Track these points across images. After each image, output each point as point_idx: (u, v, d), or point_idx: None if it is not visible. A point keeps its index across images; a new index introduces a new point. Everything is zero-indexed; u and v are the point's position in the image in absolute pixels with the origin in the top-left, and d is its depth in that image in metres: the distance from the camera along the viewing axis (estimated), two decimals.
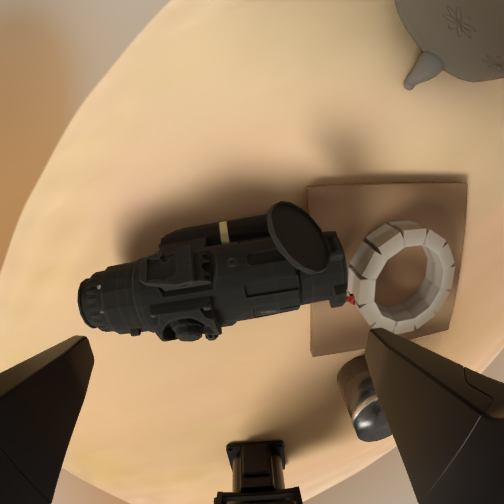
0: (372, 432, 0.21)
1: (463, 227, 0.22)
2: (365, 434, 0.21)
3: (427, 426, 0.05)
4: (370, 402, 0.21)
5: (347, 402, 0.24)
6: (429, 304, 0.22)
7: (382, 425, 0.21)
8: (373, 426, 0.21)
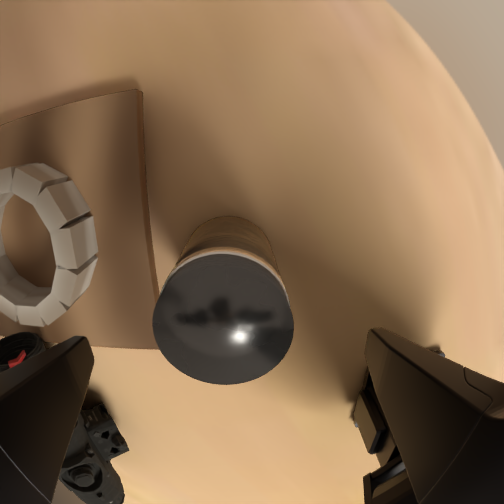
0: (246, 352, 0.10)
1: None
2: (248, 366, 0.10)
3: (427, 426, 0.05)
4: None
5: None
6: None
7: (224, 334, 0.10)
8: (220, 354, 0.10)
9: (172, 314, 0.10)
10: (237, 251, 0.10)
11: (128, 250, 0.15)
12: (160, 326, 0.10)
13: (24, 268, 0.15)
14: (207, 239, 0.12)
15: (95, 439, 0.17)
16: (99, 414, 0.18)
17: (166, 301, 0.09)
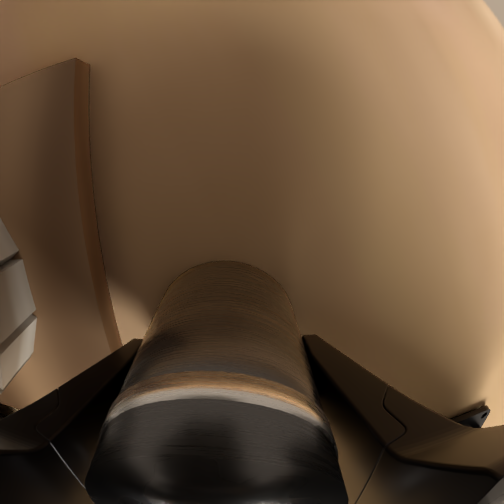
0: None
1: None
2: None
3: (342, 446, 0.05)
4: None
5: None
6: None
7: None
8: None
9: (118, 496, 0.04)
10: (241, 389, 0.04)
11: (74, 311, 0.09)
12: (103, 501, 0.04)
13: None
14: (182, 331, 0.06)
15: None
16: None
17: (101, 482, 0.03)
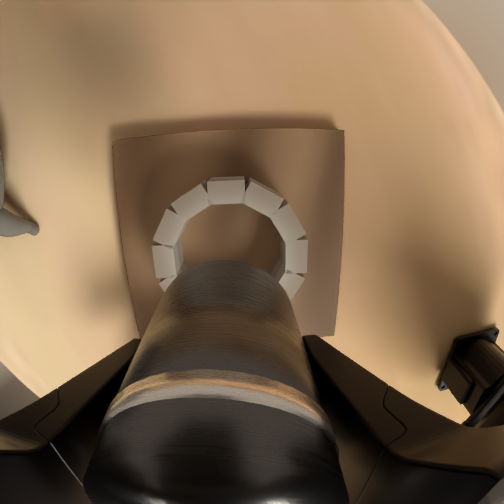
0: None
1: (171, 136, 0.17)
2: None
3: (342, 446, 0.05)
4: None
5: None
6: (268, 216, 0.16)
7: None
8: None
9: (117, 496, 0.03)
10: (241, 388, 0.04)
11: (326, 256, 0.20)
12: (101, 501, 0.04)
13: None
14: (181, 329, 0.06)
15: None
16: None
17: (100, 482, 0.03)
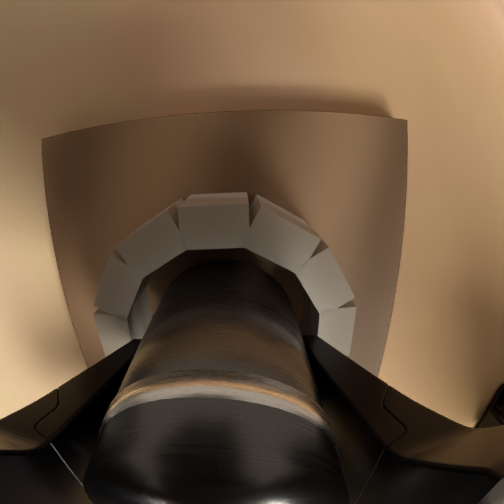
0: None
1: (124, 126, 0.10)
2: None
3: (342, 447, 0.05)
4: None
5: None
6: None
7: None
8: None
9: (117, 496, 0.03)
10: (241, 388, 0.04)
11: (371, 315, 0.12)
12: (101, 501, 0.04)
13: None
14: (181, 329, 0.06)
15: None
16: None
17: (100, 481, 0.03)
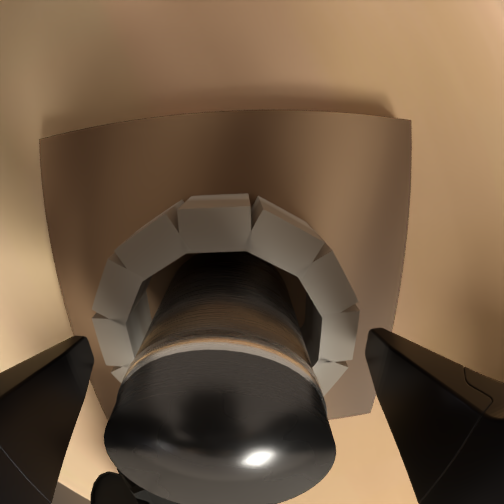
0: (257, 486, 0.05)
1: (123, 126, 0.09)
2: (259, 497, 0.05)
3: (427, 426, 0.05)
4: None
5: None
6: None
7: (221, 470, 0.05)
8: (216, 488, 0.05)
9: (134, 445, 0.05)
10: (243, 342, 0.06)
11: (374, 318, 0.12)
12: (119, 454, 0.05)
13: None
14: (191, 301, 0.07)
15: None
16: None
17: (120, 429, 0.05)
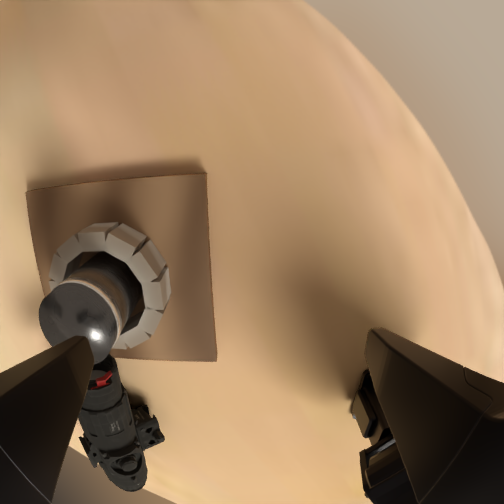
0: None
1: (63, 189, 0.19)
2: None
3: (427, 426, 0.05)
4: None
5: None
6: None
7: (74, 331, 0.14)
8: None
9: (47, 316, 0.14)
10: (82, 281, 0.15)
11: (196, 292, 0.21)
12: (43, 323, 0.14)
13: None
14: (78, 270, 0.16)
15: (140, 433, 0.23)
16: (144, 414, 0.25)
17: (43, 309, 0.14)
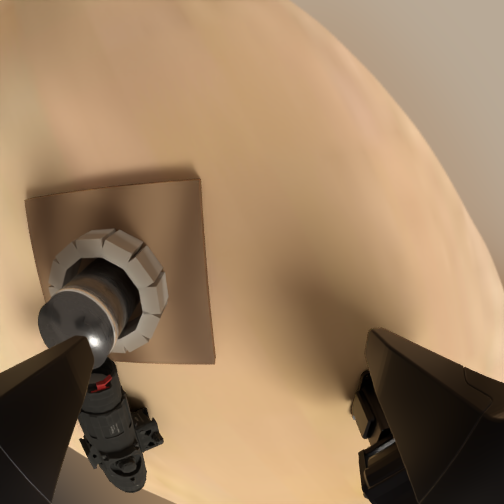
0: None
1: (61, 196, 0.19)
2: None
3: (427, 426, 0.05)
4: None
5: None
6: None
7: None
8: None
9: (46, 324, 0.14)
10: (79, 289, 0.15)
11: (193, 296, 0.22)
12: (42, 330, 0.14)
13: None
14: (76, 277, 0.17)
15: (140, 435, 0.23)
16: (144, 416, 0.25)
17: (42, 316, 0.14)
